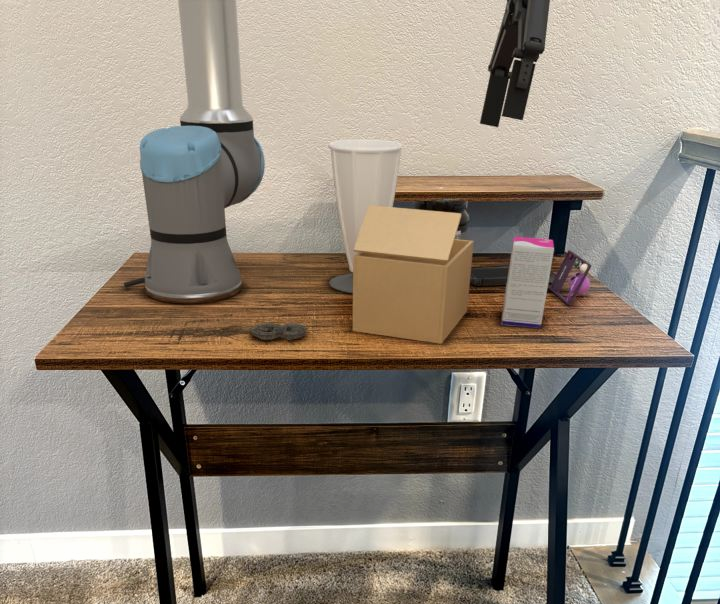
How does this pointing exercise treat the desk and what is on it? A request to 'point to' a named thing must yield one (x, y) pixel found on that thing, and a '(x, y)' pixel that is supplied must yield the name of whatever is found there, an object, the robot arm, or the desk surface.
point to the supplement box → (527, 282)
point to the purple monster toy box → (577, 282)
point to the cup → (361, 188)
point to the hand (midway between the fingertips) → (499, 122)
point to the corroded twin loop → (278, 331)
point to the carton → (411, 294)
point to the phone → (493, 275)
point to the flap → (408, 233)
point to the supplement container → (448, 207)
